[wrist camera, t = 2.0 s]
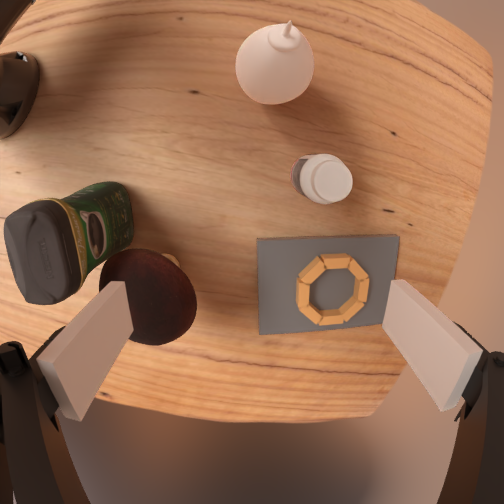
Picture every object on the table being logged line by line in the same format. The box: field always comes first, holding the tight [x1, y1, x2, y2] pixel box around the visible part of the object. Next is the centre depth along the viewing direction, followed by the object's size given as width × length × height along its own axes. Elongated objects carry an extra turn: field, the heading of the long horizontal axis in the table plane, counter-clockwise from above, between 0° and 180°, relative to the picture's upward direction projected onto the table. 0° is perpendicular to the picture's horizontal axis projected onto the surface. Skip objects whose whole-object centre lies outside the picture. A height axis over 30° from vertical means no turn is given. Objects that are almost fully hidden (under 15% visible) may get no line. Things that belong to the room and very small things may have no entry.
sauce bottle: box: [235, 20, 314, 105], centre depth 23 cm, size 8×8×18 cm
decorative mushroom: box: [99, 249, 197, 346], centre depth 31 cm, size 11×11×15 cm
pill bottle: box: [290, 154, 353, 204], centre depth 31 cm, size 5×5×10 cm
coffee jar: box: [4, 182, 134, 305], centre depth 27 cm, size 10×8×19 cm
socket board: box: [257, 235, 399, 335], centre depth 38 cm, size 14×20×3 cm
